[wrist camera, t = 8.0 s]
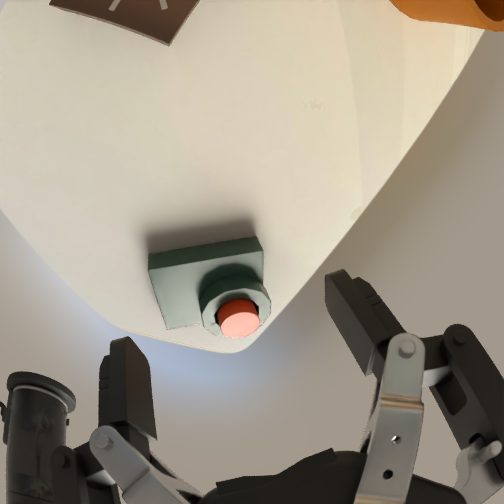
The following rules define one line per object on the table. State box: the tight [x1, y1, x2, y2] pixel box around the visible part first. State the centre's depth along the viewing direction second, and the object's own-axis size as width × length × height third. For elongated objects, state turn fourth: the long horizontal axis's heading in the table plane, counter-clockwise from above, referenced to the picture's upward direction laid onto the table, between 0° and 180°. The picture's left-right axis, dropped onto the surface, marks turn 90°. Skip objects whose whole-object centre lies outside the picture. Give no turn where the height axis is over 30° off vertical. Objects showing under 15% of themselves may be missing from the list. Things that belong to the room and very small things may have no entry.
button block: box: [148, 237, 271, 337], centre depth 28 cm, size 10×9×4 cm
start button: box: [217, 298, 260, 338], centre depth 27 cm, size 4×4×2 cm
